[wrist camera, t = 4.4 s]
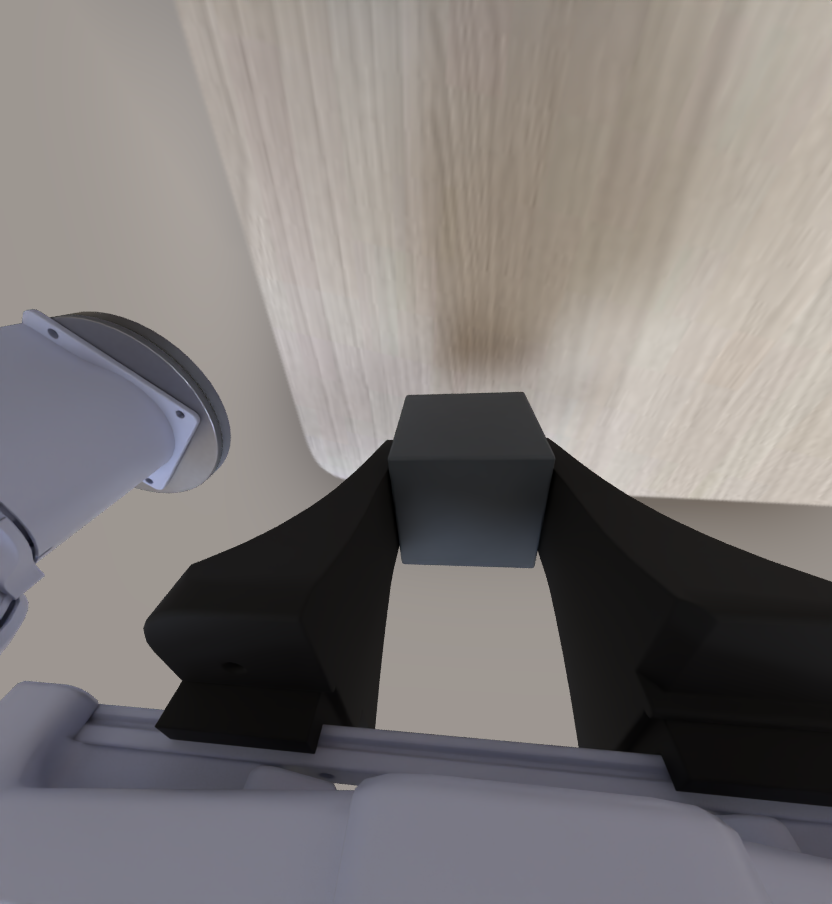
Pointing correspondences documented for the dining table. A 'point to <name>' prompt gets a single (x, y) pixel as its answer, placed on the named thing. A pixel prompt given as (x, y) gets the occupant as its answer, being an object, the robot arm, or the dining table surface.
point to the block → (470, 480)
